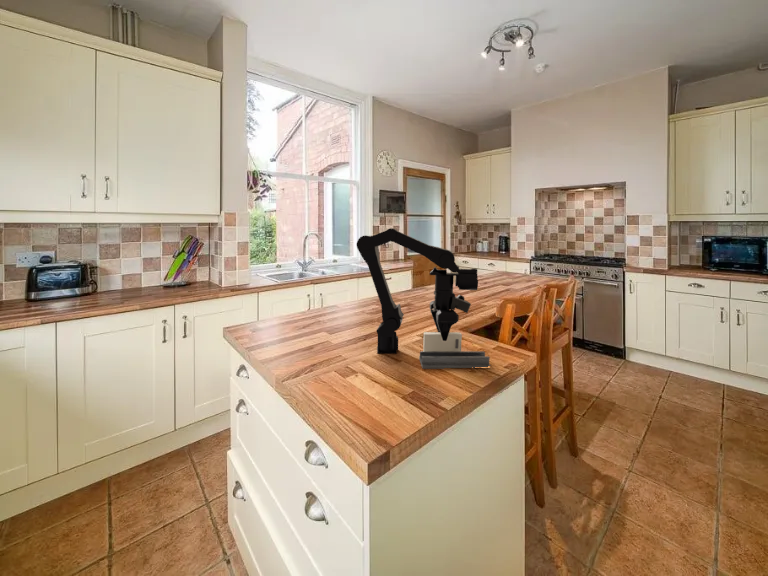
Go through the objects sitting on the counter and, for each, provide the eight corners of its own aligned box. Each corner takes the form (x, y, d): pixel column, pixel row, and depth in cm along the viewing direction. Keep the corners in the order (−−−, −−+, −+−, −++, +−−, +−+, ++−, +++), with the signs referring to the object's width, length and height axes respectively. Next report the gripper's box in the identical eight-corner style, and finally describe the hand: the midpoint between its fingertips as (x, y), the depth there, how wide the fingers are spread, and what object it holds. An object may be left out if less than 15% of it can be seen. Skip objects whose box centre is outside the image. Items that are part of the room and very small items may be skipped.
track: (422, 368, 104) (422, 358, 104) (419, 358, 112) (419, 349, 112) (490, 368, 104) (491, 359, 104) (482, 359, 112) (483, 349, 112)
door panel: (424, 355, 115) (424, 334, 114) (423, 352, 118) (423, 332, 117) (461, 355, 116) (462, 334, 114) (459, 352, 118) (460, 332, 117)
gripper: (477, 294, 105) (474, 345, 107) (462, 284, 123) (460, 328, 126) (439, 294, 104) (437, 345, 107) (430, 284, 123) (428, 328, 125)
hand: (442, 336), depth 116 cm, fingers open, 9 cm apart
